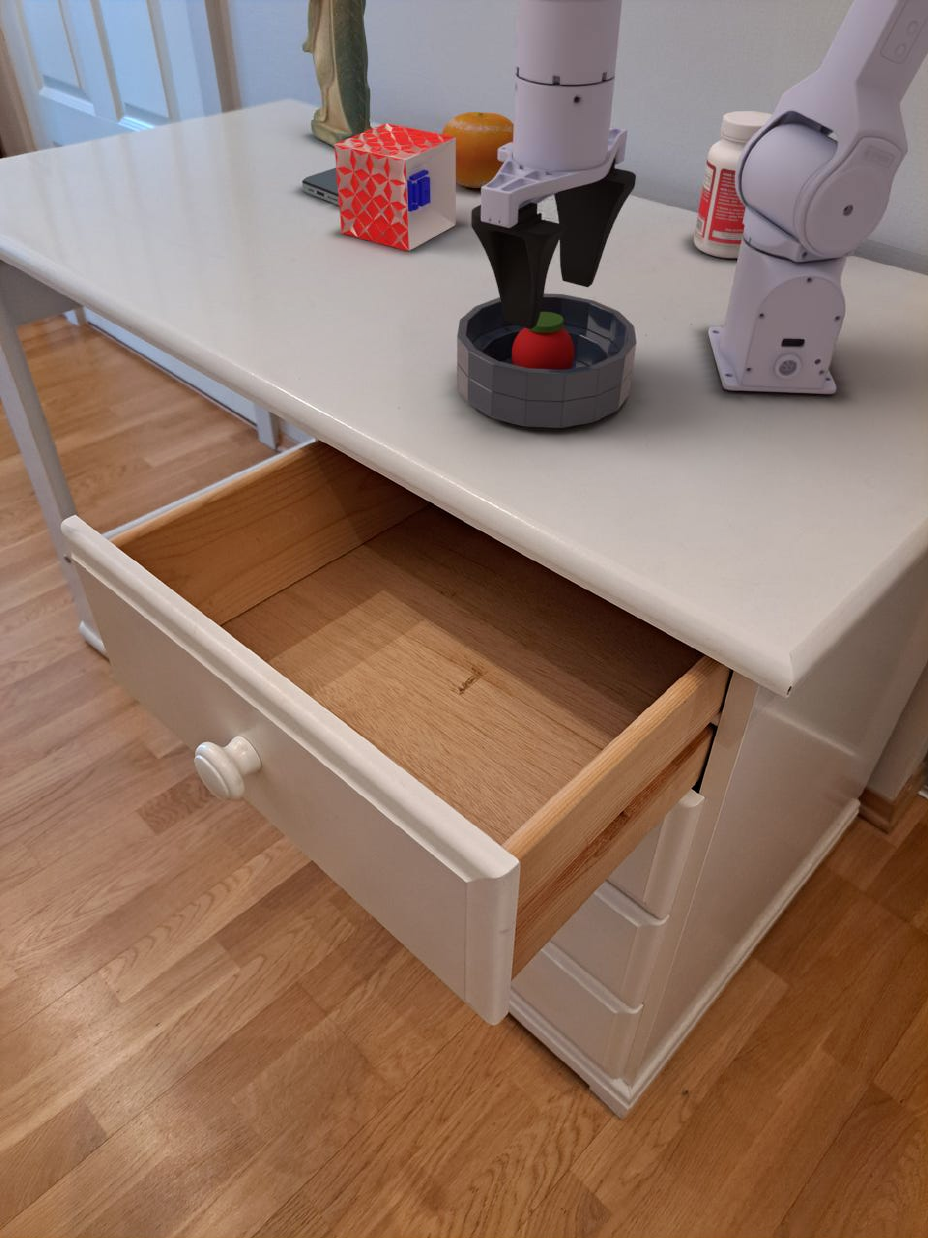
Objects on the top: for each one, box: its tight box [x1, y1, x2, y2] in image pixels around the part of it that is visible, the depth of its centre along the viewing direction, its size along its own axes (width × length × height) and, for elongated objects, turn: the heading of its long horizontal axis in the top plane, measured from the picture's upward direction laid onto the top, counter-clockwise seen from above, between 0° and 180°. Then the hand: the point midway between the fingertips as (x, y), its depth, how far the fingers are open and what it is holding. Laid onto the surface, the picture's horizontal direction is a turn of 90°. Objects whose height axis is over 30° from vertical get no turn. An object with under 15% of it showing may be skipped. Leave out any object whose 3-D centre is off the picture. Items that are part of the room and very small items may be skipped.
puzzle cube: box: [333, 123, 457, 252], centre depth 87 cm, size 8×8×8 cm
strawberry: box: [512, 312, 574, 370], centre depth 65 cm, size 4×4×5 cm
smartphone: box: [301, 167, 339, 207], centre depth 98 cm, size 8×2×15 cm
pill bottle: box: [693, 110, 773, 259], centre depth 83 cm, size 6×6×11 cm
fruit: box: [441, 111, 514, 189], centre depth 97 cm, size 8×8×8 cm
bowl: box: [456, 292, 637, 429], centre depth 65 cm, size 12×12×4 cm
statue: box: [301, 0, 373, 148], centre depth 102 cm, size 7×8×25 cm
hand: (550, 302), depth 62 cm, fingers open, 7 cm apart
